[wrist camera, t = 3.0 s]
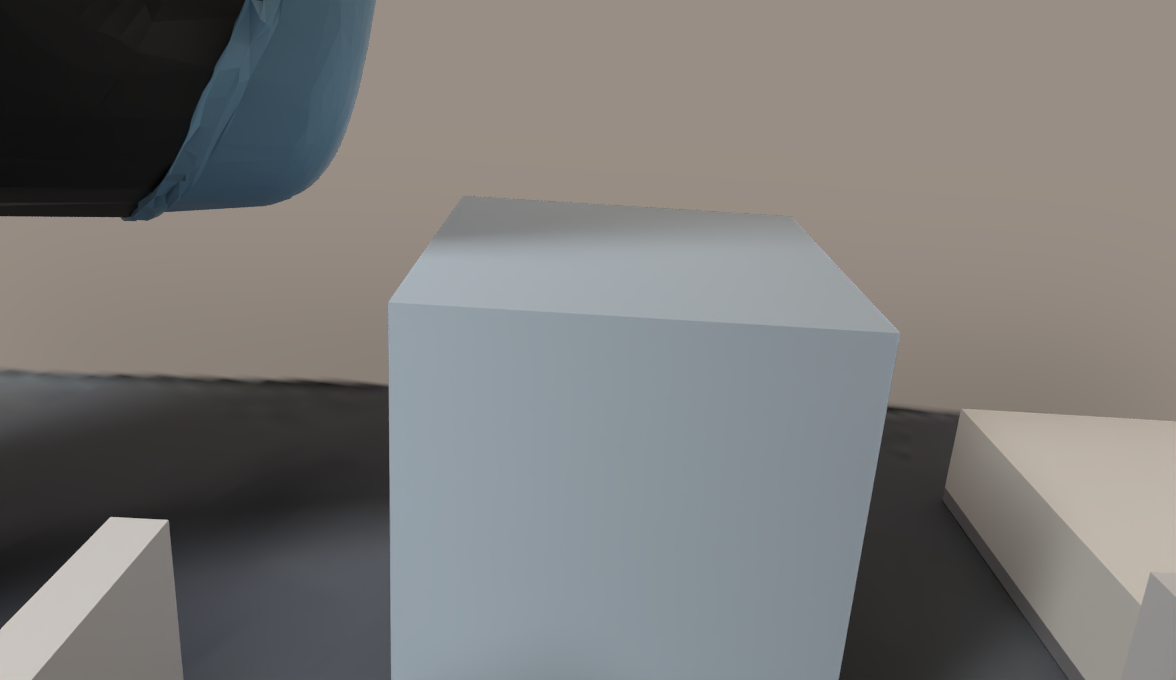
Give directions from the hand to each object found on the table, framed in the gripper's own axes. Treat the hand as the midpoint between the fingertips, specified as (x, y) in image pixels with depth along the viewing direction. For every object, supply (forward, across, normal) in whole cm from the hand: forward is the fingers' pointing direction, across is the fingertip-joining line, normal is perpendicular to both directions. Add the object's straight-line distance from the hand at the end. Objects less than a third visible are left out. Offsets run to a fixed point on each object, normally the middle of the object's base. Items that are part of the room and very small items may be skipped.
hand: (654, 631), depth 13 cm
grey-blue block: (+10, 0, -8) cm, 13 cm away
